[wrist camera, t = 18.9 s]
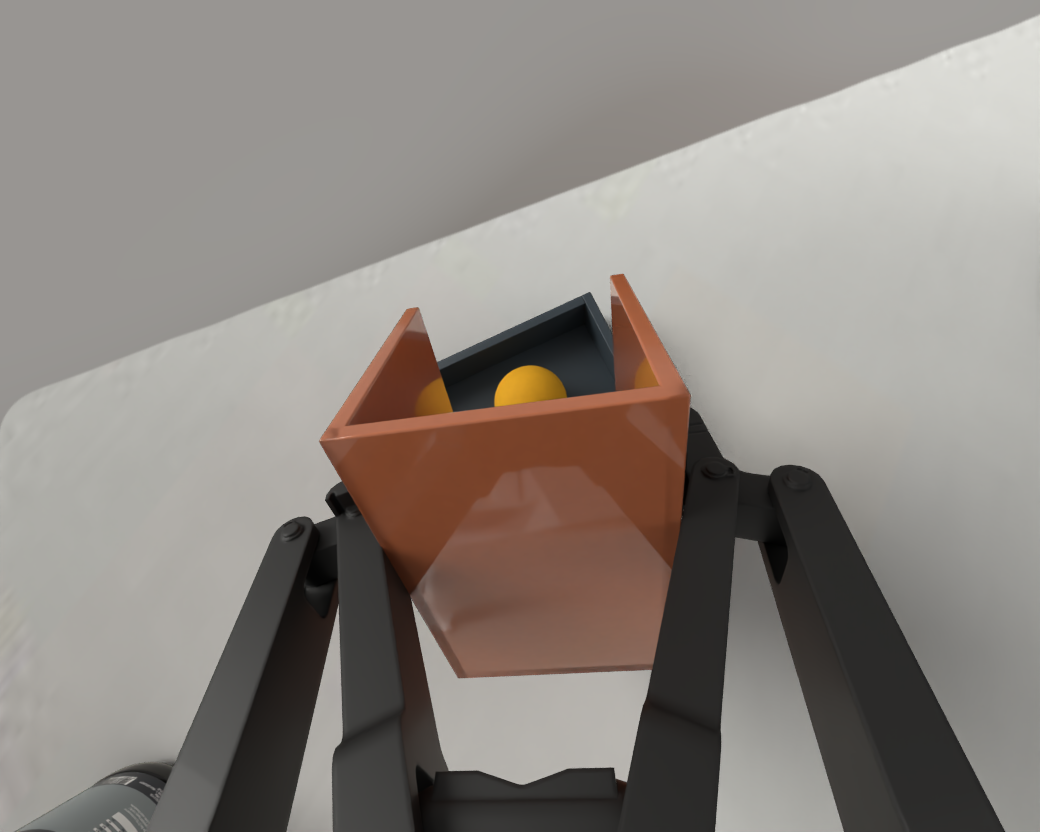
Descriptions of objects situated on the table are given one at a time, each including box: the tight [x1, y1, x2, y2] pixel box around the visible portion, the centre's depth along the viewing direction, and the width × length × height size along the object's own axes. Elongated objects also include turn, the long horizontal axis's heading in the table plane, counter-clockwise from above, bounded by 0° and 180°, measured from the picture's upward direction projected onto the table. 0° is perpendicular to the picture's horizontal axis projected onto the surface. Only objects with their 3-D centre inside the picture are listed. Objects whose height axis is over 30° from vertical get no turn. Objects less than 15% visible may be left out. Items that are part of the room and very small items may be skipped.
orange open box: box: [319, 274, 691, 678], centre depth 17 cm, size 12×8×12 cm
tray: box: [437, 292, 684, 509], centre depth 27 cm, size 14×14×4 cm
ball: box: [495, 365, 567, 407], centre depth 26 cm, size 5×5×5 cm
